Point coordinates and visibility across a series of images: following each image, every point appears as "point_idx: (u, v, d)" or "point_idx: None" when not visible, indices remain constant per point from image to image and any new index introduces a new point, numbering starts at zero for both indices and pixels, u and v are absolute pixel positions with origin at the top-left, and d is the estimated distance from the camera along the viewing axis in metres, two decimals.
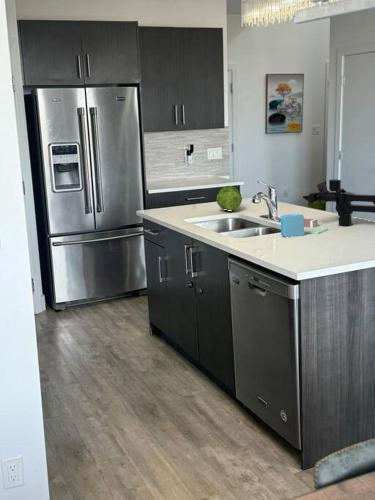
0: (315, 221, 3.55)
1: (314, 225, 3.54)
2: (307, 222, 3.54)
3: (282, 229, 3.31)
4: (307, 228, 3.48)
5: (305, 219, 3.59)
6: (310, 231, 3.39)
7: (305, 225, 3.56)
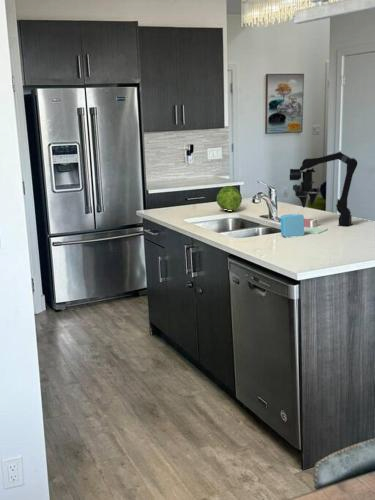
0: (315, 221, 3.55)
1: (314, 225, 3.54)
2: (307, 222, 3.54)
3: (282, 229, 3.31)
4: (307, 228, 3.48)
5: (305, 219, 3.59)
6: (310, 231, 3.39)
7: (305, 225, 3.56)
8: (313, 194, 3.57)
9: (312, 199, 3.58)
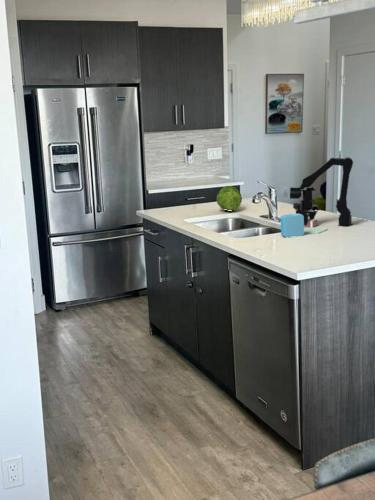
0: (315, 221, 3.55)
1: (314, 225, 3.54)
2: (307, 222, 3.54)
3: (282, 229, 3.31)
4: (307, 228, 3.48)
5: None
6: (310, 231, 3.39)
7: (305, 225, 3.56)
8: (312, 212, 3.58)
9: (311, 217, 3.59)
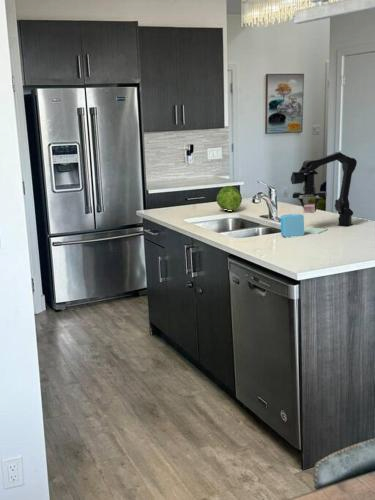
0: (309, 207, 3.41)
1: (307, 211, 3.42)
2: None
3: (282, 229, 3.31)
4: (307, 228, 3.48)
5: (311, 204, 3.47)
6: (310, 231, 3.39)
7: None
8: None
9: (315, 203, 3.43)
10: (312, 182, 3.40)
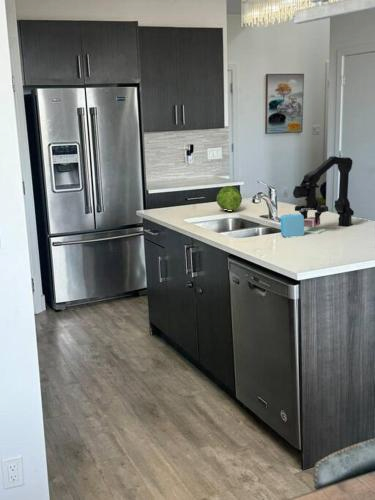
0: (308, 221, 3.38)
1: (306, 225, 3.40)
2: None
3: (282, 229, 3.31)
4: (307, 228, 3.48)
5: (314, 218, 3.43)
6: (310, 231, 3.39)
7: None
8: None
9: None
10: (314, 196, 3.37)
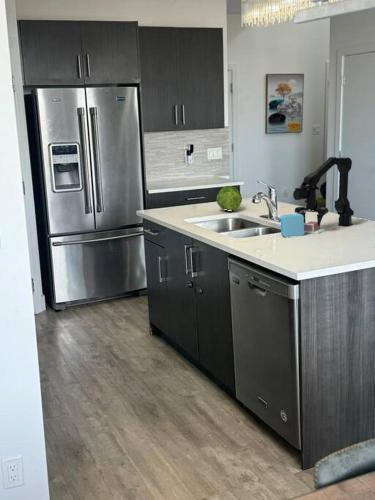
0: (308, 226, 3.39)
1: (306, 229, 3.40)
2: None
3: (282, 229, 3.31)
4: None
5: (314, 222, 3.44)
6: None
7: None
8: None
9: None
10: (314, 197, 3.37)
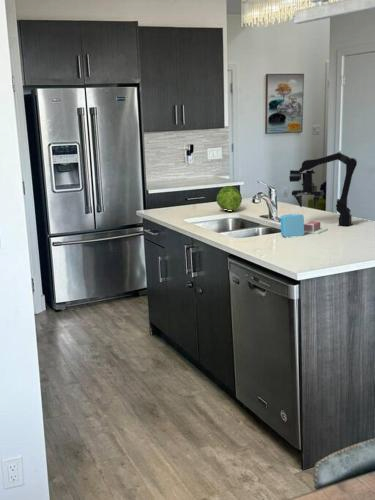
0: (308, 226, 3.39)
1: (306, 229, 3.40)
2: None
3: (282, 229, 3.31)
4: None
5: (314, 222, 3.44)
6: None
7: None
8: None
9: None
10: (308, 181, 3.51)
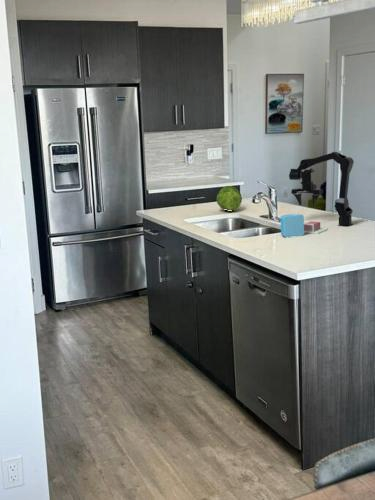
0: (308, 226, 3.39)
1: (306, 229, 3.40)
2: None
3: (282, 229, 3.31)
4: None
5: (314, 222, 3.44)
6: None
7: None
8: None
9: None
10: (305, 179, 3.59)
